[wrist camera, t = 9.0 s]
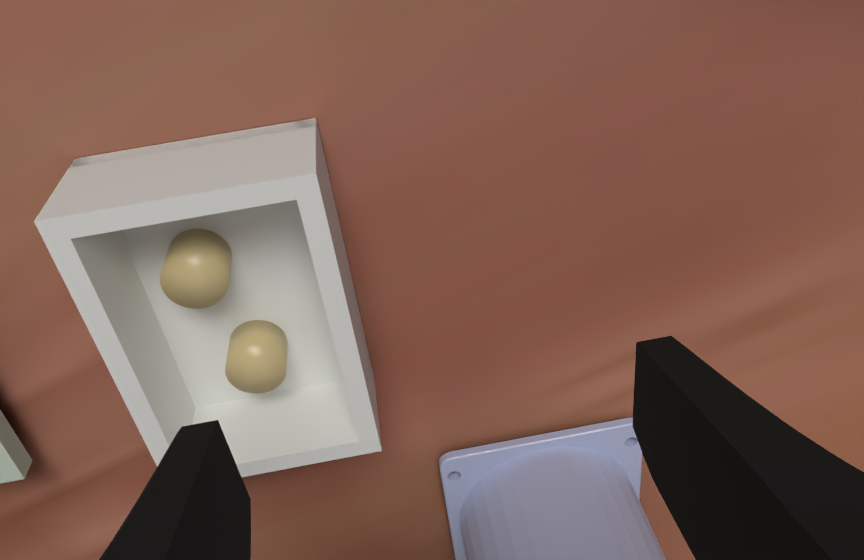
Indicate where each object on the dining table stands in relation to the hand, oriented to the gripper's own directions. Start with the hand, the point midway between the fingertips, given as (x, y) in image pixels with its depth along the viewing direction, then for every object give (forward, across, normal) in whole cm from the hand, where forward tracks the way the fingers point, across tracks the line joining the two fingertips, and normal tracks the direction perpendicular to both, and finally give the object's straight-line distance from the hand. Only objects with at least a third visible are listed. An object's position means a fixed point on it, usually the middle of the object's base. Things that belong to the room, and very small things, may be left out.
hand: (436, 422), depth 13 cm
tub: (+10, +5, +3) cm, 12 cm away
